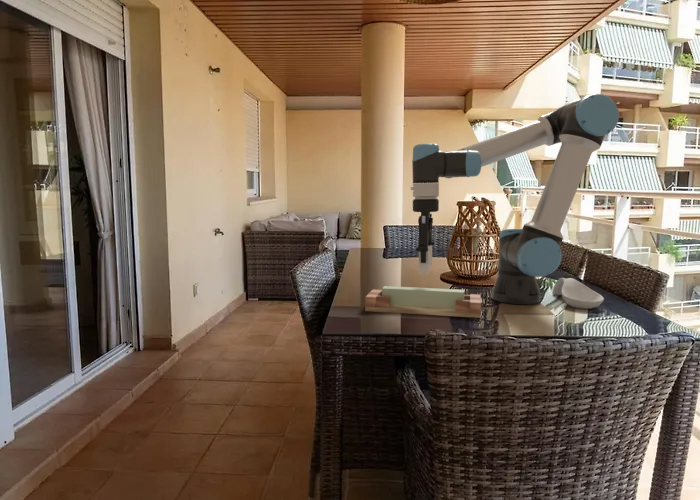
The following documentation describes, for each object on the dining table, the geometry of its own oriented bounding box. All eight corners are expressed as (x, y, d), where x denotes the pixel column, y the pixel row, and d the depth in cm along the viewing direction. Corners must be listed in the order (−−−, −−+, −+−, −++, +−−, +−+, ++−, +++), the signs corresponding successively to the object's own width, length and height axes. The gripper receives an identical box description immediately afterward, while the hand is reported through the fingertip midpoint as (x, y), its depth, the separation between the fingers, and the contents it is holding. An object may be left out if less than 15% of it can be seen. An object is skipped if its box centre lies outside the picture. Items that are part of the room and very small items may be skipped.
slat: (384, 301, 158) (384, 285, 157) (463, 306, 152) (464, 289, 152) (381, 304, 154) (382, 288, 154) (463, 309, 149) (464, 292, 148)
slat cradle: (372, 302, 163) (372, 289, 162) (479, 308, 155) (480, 294, 155) (365, 310, 151) (365, 297, 151) (480, 317, 144) (481, 303, 143)
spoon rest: (610, 312, 152) (612, 288, 151) (571, 312, 152) (572, 288, 151) (574, 295, 176) (576, 274, 175) (540, 295, 175) (541, 274, 175)
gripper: (417, 197, 162) (417, 263, 165) (407, 199, 138) (408, 277, 141) (441, 197, 161) (440, 264, 163) (435, 199, 136) (435, 277, 139)
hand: (425, 270), depth 152 cm, fingers open, 13 cm apart
